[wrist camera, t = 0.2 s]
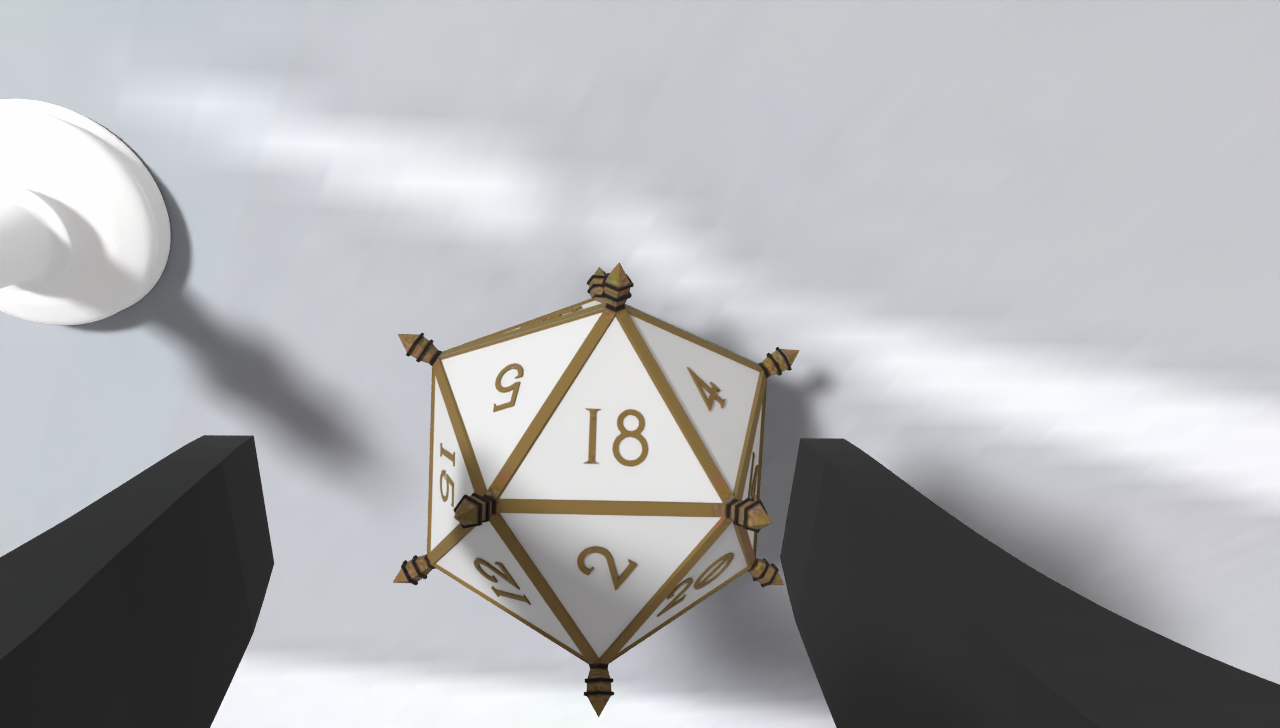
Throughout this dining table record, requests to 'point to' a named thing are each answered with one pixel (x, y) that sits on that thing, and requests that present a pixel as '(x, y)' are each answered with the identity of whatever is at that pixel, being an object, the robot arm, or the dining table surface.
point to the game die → (595, 472)
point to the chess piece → (74, 218)
